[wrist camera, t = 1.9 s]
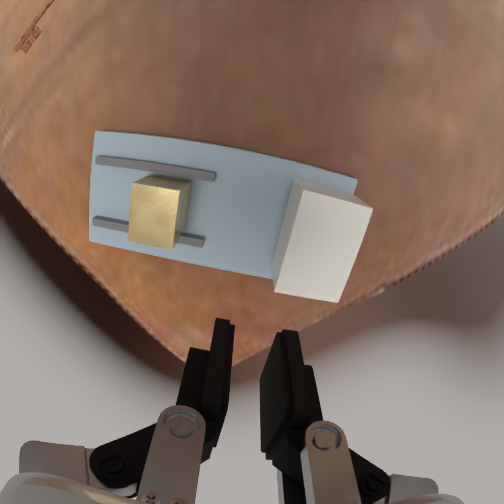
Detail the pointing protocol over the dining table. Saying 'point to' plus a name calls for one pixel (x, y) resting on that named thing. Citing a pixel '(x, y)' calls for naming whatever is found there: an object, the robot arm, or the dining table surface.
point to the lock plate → (201, 197)
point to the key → (32, 31)
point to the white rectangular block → (318, 241)
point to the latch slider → (158, 210)
